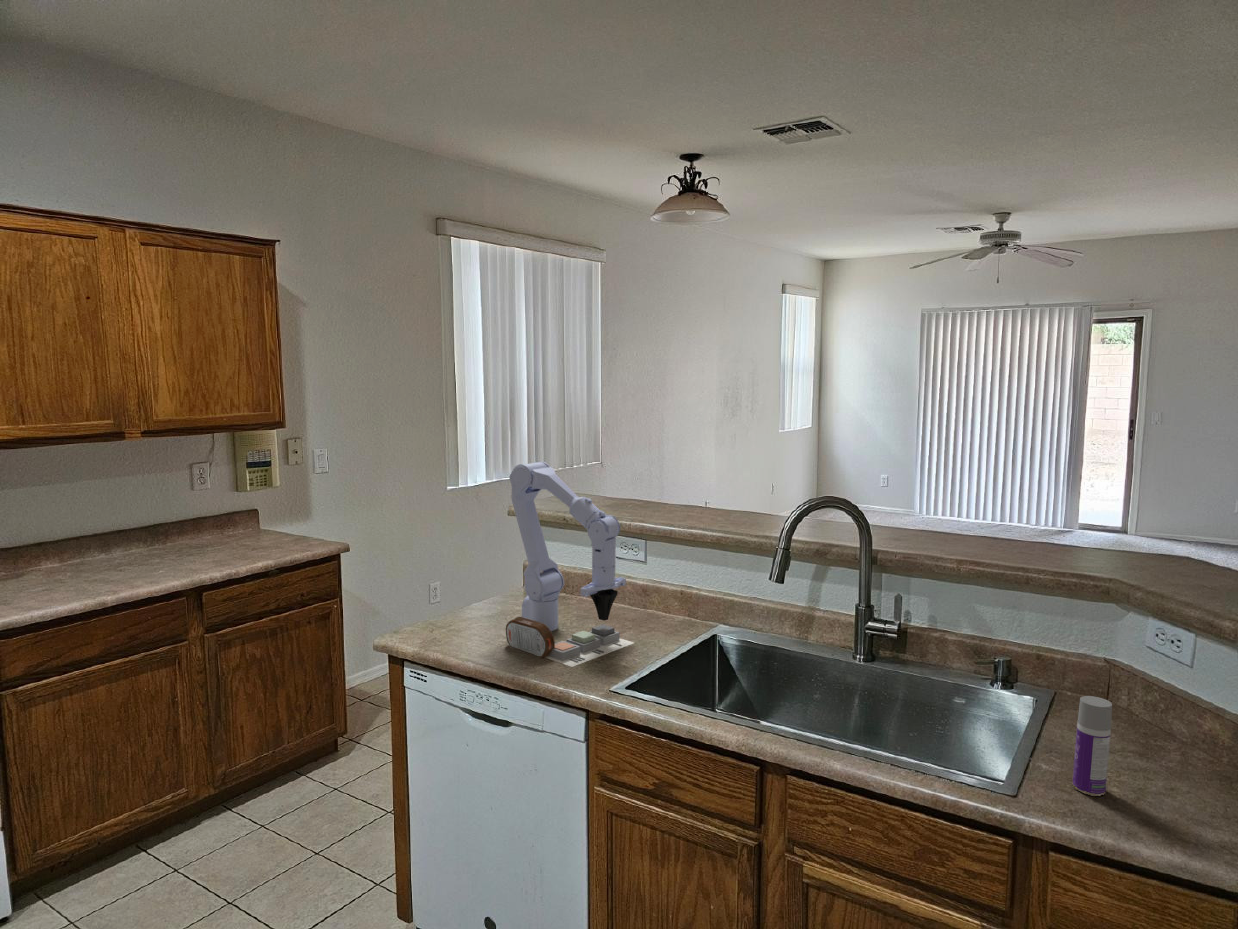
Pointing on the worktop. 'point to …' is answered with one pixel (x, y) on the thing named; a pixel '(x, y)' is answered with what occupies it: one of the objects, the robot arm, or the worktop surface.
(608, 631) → the key one
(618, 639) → the keypad
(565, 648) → the key three
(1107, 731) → the container
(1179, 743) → the worktop surface
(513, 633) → the tin
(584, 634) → the key two
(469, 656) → the worktop surface
